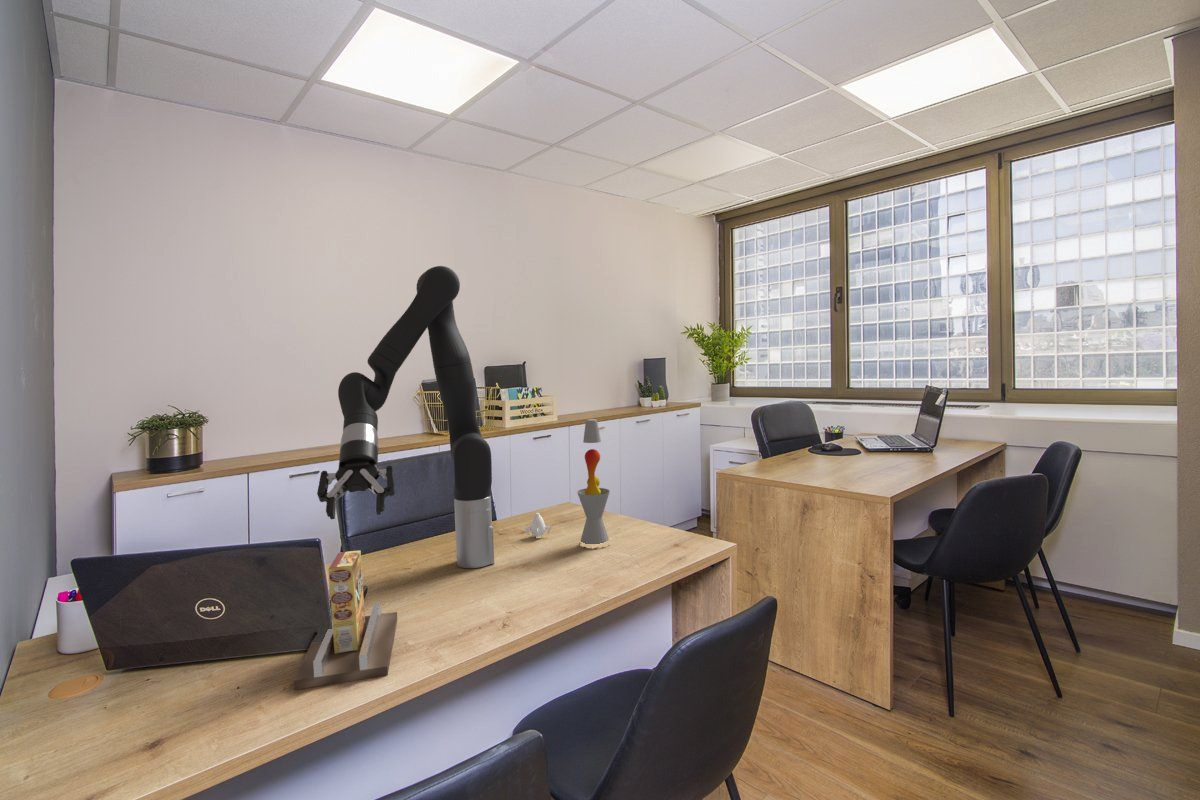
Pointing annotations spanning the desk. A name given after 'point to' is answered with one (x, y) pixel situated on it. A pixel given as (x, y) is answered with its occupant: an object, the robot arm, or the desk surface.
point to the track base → (350, 654)
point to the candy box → (347, 601)
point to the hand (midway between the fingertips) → (355, 514)
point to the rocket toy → (537, 526)
